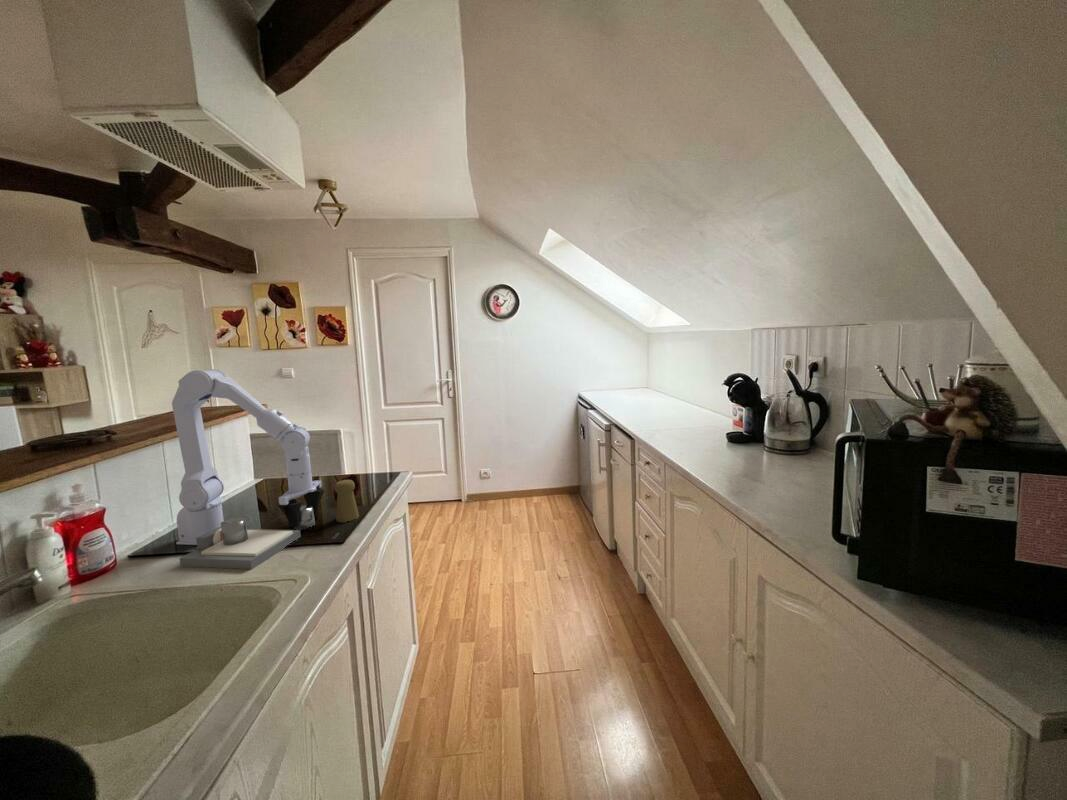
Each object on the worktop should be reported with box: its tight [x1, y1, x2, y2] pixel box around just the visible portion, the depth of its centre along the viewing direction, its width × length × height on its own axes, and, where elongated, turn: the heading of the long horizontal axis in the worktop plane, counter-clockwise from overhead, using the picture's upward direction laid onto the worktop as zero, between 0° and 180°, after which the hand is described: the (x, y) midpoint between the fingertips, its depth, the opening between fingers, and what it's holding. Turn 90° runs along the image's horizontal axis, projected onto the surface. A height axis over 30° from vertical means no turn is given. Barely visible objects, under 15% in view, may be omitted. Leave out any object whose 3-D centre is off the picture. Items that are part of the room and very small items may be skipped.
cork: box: [334, 479, 360, 523], centre depth 121 cm, size 6×6×11 cm
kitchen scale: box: [179, 526, 302, 570], centre depth 102 cm, size 18×16×6 cm
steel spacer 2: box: [293, 504, 316, 531], centre depth 116 cm, size 5×5×5 cm
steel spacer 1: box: [221, 516, 248, 545], centre depth 102 cm, size 5×5×5 cm
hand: (304, 520), depth 116 cm, fingers open, 7 cm apart
